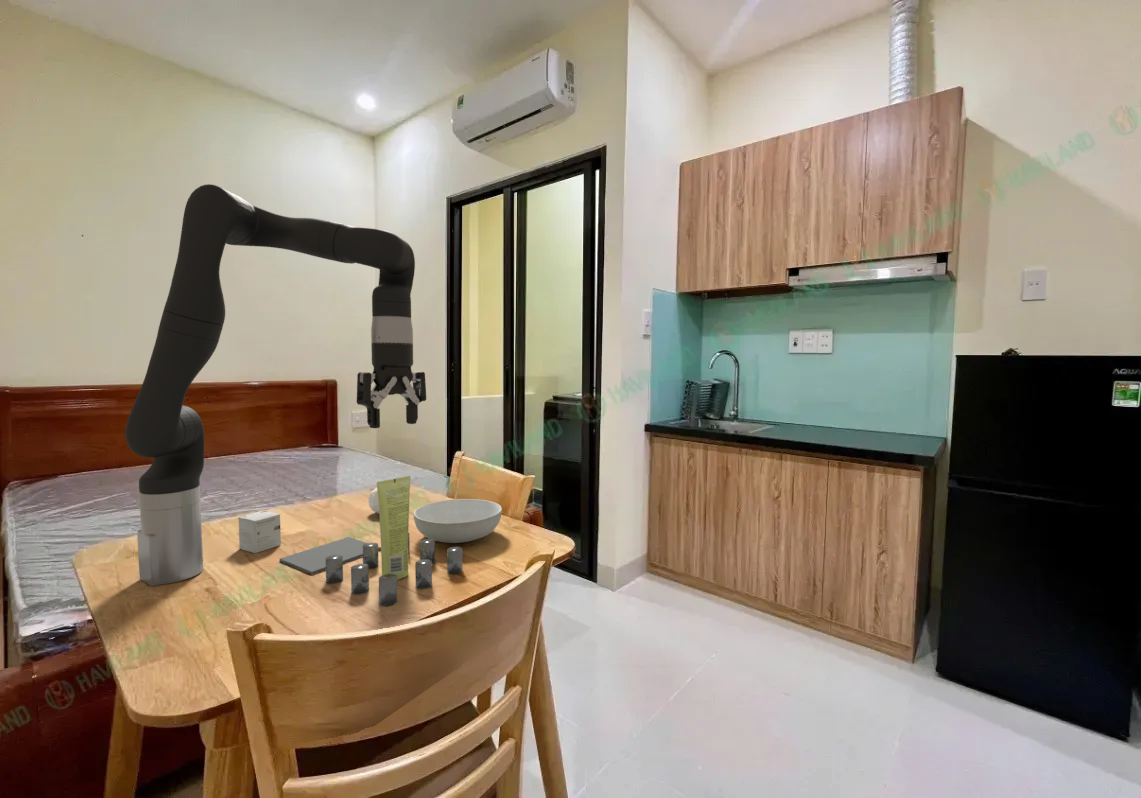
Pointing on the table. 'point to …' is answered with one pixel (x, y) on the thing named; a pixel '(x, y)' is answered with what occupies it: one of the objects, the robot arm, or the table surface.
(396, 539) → the tube
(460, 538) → the serving bowl
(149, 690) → the table surface
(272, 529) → the skincare box
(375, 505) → the ball
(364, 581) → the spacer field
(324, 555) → the slate mat
